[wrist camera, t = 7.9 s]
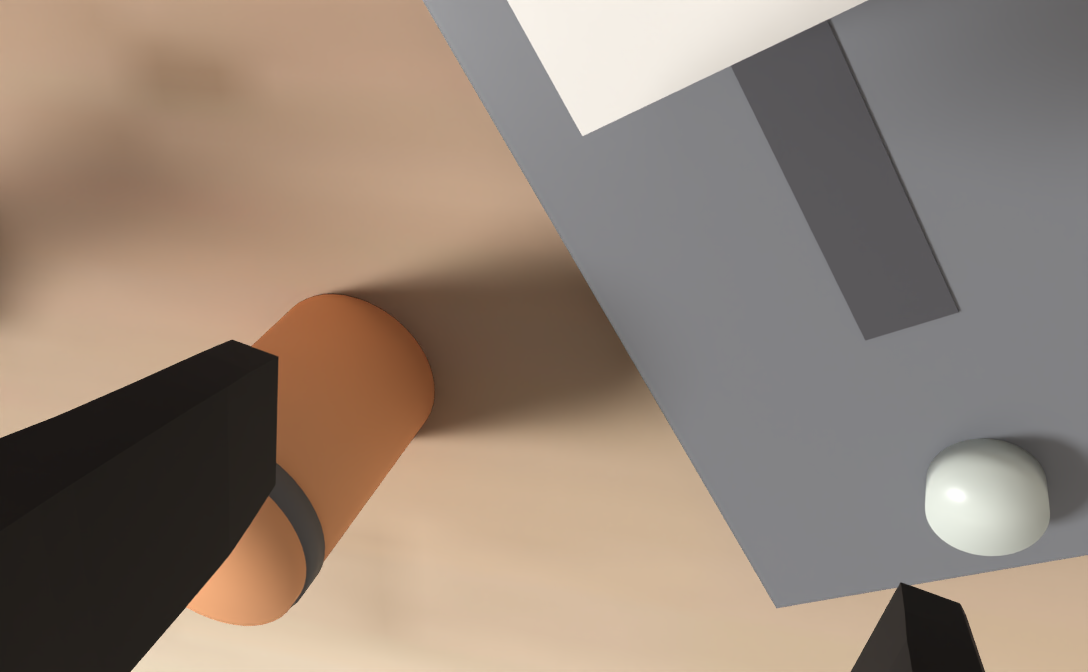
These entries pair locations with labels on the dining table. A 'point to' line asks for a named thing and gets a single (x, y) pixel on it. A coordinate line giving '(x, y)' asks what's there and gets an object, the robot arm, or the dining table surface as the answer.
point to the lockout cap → (322, 448)
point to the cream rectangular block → (652, 45)
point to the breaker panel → (845, 277)
